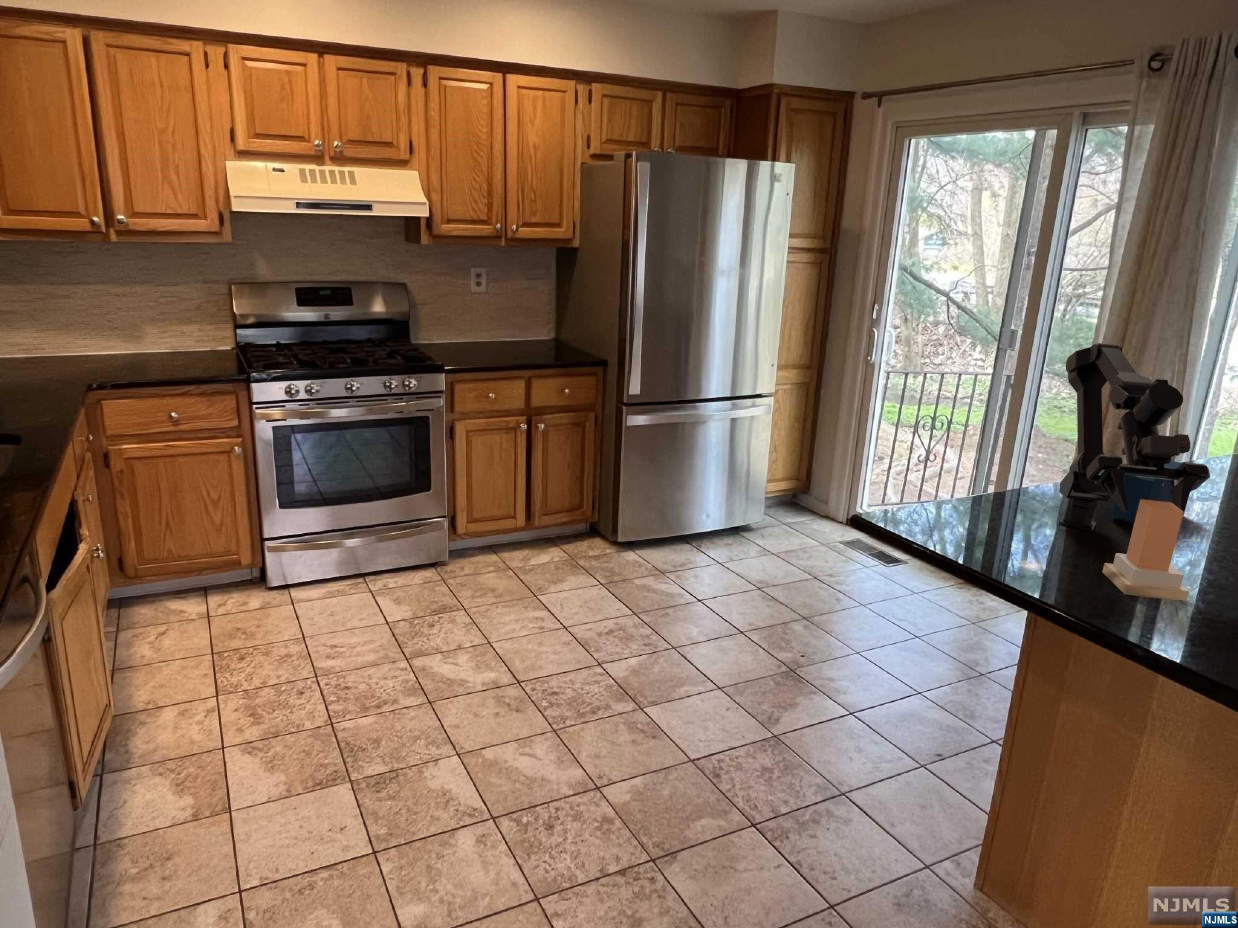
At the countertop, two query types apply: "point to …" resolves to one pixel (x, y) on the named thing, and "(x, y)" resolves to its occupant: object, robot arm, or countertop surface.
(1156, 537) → the pillar block
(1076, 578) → the countertop surface
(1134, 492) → the navy rounded box
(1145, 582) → the tower top
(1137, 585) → the tower base
